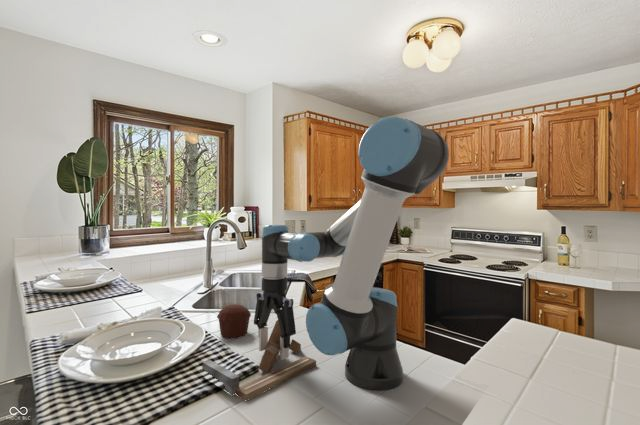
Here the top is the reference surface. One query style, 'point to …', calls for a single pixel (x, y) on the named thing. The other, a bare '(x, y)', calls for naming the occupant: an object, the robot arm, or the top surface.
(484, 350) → the top surface
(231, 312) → the muffin
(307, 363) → the board
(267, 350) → the wooden block set
